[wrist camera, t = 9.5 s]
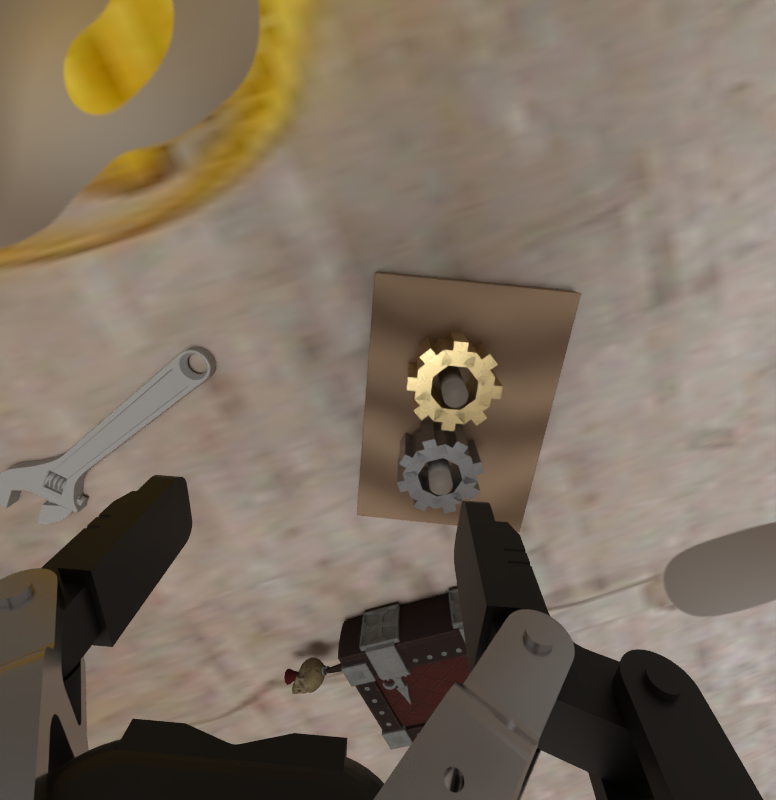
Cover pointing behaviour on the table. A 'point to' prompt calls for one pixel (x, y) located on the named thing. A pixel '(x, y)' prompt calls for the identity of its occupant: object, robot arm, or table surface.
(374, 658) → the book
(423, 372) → the brass gear
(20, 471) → the adjustable wrench
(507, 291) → the gear board
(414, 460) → the steel gear
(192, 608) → the table surface
